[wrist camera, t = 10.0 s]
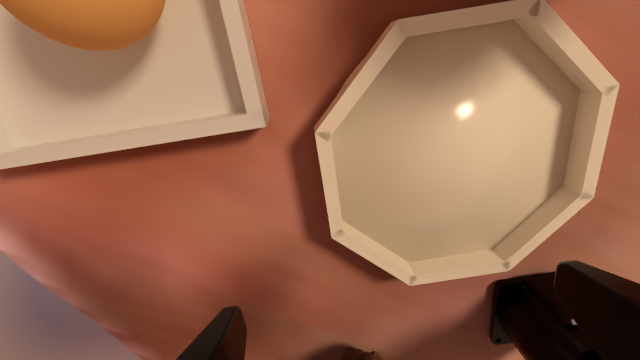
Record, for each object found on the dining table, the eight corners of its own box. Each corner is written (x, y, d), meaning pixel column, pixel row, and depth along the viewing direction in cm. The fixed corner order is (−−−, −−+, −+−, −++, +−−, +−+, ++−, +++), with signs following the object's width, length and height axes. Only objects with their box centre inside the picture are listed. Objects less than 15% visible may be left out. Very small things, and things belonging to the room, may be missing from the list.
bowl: (554, 241, 22) (579, 260, 20) (337, 274, 22) (340, 296, 20) (600, -12, 16) (643, -21, 14) (299, 37, 16) (299, 35, 14)
